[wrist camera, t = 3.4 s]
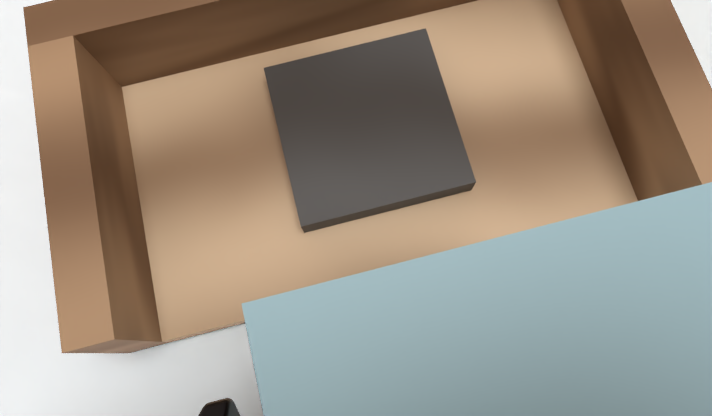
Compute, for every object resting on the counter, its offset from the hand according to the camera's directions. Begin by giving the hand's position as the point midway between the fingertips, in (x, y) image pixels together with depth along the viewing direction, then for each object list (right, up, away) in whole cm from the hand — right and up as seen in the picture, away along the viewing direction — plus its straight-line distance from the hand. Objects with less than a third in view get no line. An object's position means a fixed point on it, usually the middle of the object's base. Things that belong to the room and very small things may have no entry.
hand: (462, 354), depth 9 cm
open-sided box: (-1, +5, +8) cm, 9 cm away
